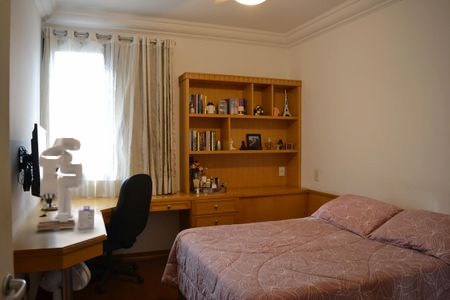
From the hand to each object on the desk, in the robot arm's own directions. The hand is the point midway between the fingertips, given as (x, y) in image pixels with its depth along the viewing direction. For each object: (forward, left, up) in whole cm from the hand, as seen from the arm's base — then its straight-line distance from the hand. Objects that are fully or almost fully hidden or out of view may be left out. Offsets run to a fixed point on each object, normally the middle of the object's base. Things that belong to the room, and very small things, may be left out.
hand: (48, 204), depth 221 cm
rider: (+1, +9, -13) cm, 15 cm away
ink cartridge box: (+3, +23, -17) cm, 29 cm away
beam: (+1, +5, -17) cm, 17 cm away
